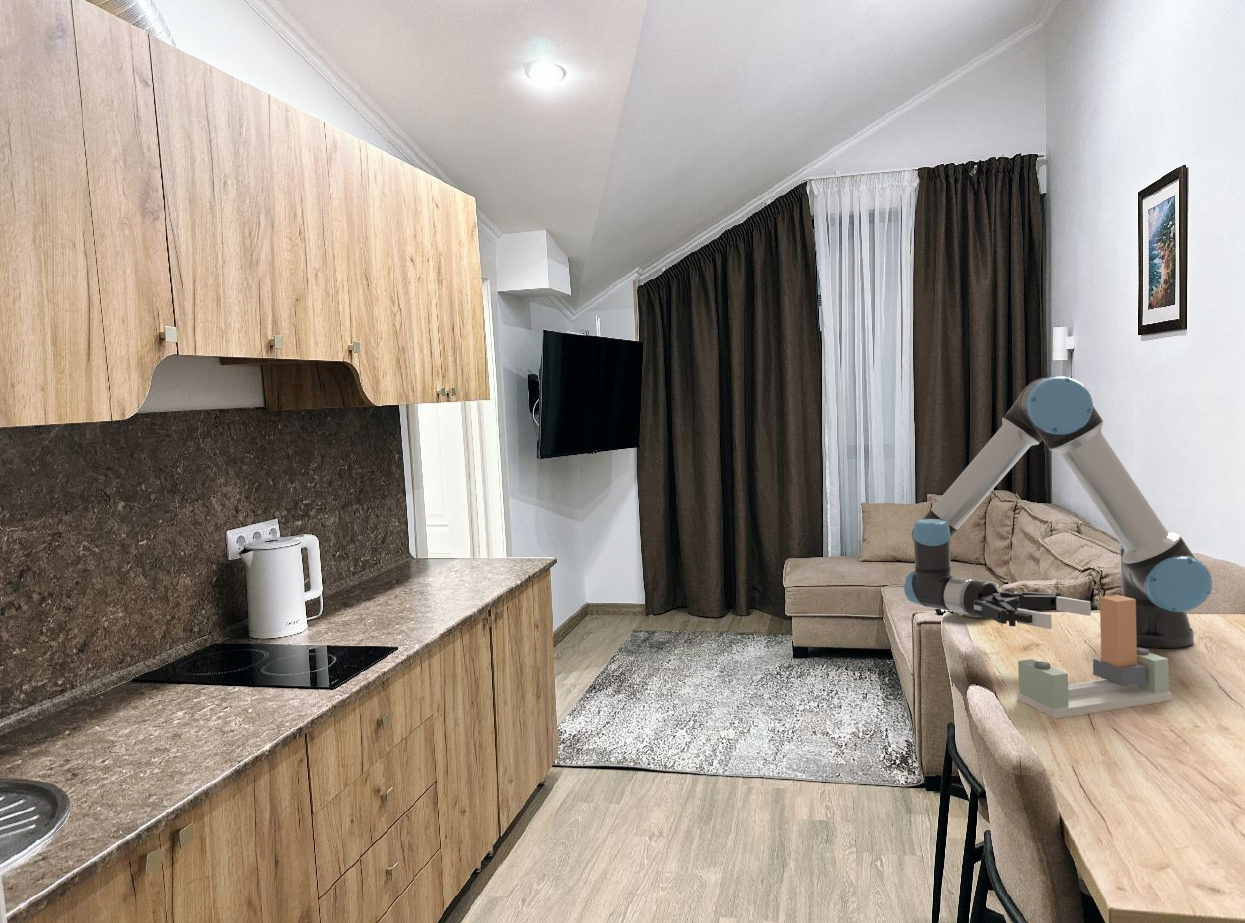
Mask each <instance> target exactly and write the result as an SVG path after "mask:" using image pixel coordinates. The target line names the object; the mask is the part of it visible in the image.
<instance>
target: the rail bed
mask: <svg viewBox="0 0 1245 923" xmlns="http://www.w3.org/2000/svg"><path fill="white" fill-rule="evenodd" d="M1016 694H1017V701H1019V700H1020V701H1019V702H1021V701H1022V702H1021V703H1023V702H1024V703H1023V704H1025V703H1026V704H1025V705H1027V704H1028V705H1027V706H1029V705H1030V706H1029V707H1031V706H1032V708H1033V707H1034V708H1033V709H1035V708H1036V710H1037V709H1039V710H1040V712H1041V711H1042V713H1043V712H1044V714H1046V715H1048V716H1049V717H1052V718H1053V719H1056V720H1057V719H1064V718H1067V717H1074V716H1075V717H1076V716H1080V715H1081V716H1082V715H1087V714H1094V713H1100V712H1101V713H1102V712H1106V711H1113V710H1119V708H1120V709H1125V708H1131V707H1132V706H1133V707H1138V706H1143V705H1144V706H1145V705H1150V704H1158V703H1164V702H1169V701H1172V692H1171V691H1170V690H1169V691H1168V692H1162V693H1152V692H1150V691H1147V690H1144V689H1142V688H1139V684H1134V685H1127V686H1121V685H1119V684H1116V683H1113V682H1111V681H1108V680H1106V679H1103V678H1101V679H1096V680H1089V681H1084V682H1083V681H1082V682H1074V683H1068V702H1069V707H1065V708H1059V709H1052V708H1050V707H1048V706H1046V705H1044V704H1042V703H1040V702H1037V701H1035V700H1033V699H1031V698H1029V697H1027V696H1025V695H1023V694H1021V693H1019V691H1017V693H1016ZM1133 707H1132V708H1133ZM1039 710H1038V711H1039Z"/></svg>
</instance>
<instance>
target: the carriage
mask: <svg viewBox="0 0 1245 923" xmlns="http://www.w3.org/2000/svg"><path fill="white" fill-rule="evenodd" d="M1099 617H1100V620H1099V621H1100V657H1097V658H1092V674H1093V676H1095V677H1098V678H1101V679H1106V680H1108V681H1111V682H1113V683H1116V684H1119V685H1121V686H1127V685H1134V684H1140V683H1146V666H1144V665H1141V664H1138V663H1137V648H1138V645H1137V641H1136V599H1133V598H1129V597H1125V596H1122V594H1121V595H1120V594H1113V595H1106V596H1100V597H1099Z"/></svg>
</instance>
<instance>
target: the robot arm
mask: <svg viewBox="0 0 1245 923" xmlns="http://www.w3.org/2000/svg"><path fill="white" fill-rule="evenodd" d="M1001 422H1002V424H1001V427H999V429H998V430H997V431H996V433H995V434H994V435H993V436H992V437H991V438H990V439H989V440H988V442H987V443H986V444H985V445H984V447H982V449H981V450H980V451H979V452H978V453H977V455H976V456H975V457H974V458H973V459H972V460H971V462H969V464H968V465H967V466H966V467H965V469H964V470H963V471H962V472H961V473H960V474H959V476H958V477H957V478H956V479H955V480H954V482H952V484H951V485H950V486H949V487H948V489H946V491H945V492H944V493H943V495H942V496H941V497H940V498H939V499H938V500H937V502H935V504H934V505H933V506H932V507H931V509H930V510H929V511H928V512H927V513H926V514H925V516H923V518H922V519H919V520H917V521H915V522H914V524H913V528H912V532H911V538H912V541H913V547H914V550H913V552H914V564H915V565H914V570H913V571H911V572H909V573H908V574H907V575H906V577H905V583H904V584H903V591H904V596H905V597H906V599H907V600H909V601H910V602H911V603H913V604H916V605H919V606H920V605H921V606H923V607H926V608H934V609H938V610H944V611H949V612H954V613H955V612H956V613H958V616H964V614H970V615H973V616H978V617H983V619H987V618H989V619H991V620H992V621H994V622H995V621H996V622H997V623H999V624H1002V625H1005V624H1006V625H1007V624H1008V626H1009V627H1016V625H1017V624H1021V625H1025V626H1026V625H1027V626H1032V627H1036V628H1042V629H1045V630H1046V629H1047V630H1051V629H1052V628H1053V627H1052V625H1053V624H1052V622H1053V621H1052V614H1051V613H1047V612H1042V611H1036V610H1029V609H1056V611H1060V612H1065V613H1071V614H1076V615H1081V616H1087V617H1089V616H1092V611H1091V610H1092V608H1091V601H1090V600H1082V599H1078V598H1077V599H1076V598H1071V597H1065V596H1063V594H1062V593H1060V591H1056V592H1055V593H1054V592H1052V593H1051V592H1037V591H1034V592H1033V591H1021V590H1014V589H1011V590H1009V591H1006V590H1005V591H999V592H998V591H997V589H996V587H995V586H994V585H993V584H992V583H990V582H984V581H985V580H983V581H978V580H979V579H978V580H977V579H972V578H968V577H967V578H966V577H959V576H952V572H951V571H952V567H951V539H952V537H953V536H954V535H955V533H956V532H957V531H958V530H959V528H960V527H961V526H962V525H963V524H964V523H965V522H966V520H968V518H969V517H970V516H971V515H972V514H973V513H974V511H975V510H976V509H977V508H978V507H979V506H980V504H982V502H983V501H985V499H986V498H987V497H988V495H989V494H990V493H991V492H992V491H993V490H994V488H996V486H997V485H999V483H1000V482H1001V481H1002V480H1003V479H1004V477H1005V476H1006V475H1007V474H1008V473H1009V472H1010V470H1011V469H1012V468H1013V467H1014V466H1015V465H1016V463H1017V462H1018V461H1019V460H1020V459H1021V457H1023V456H1024V455H1025V454H1026V452H1027V451H1028V450H1029V449H1030V448H1031V447H1032V446H1037V445H1038V446H1039V444H1040V443H1041V442H1042V441H1043V442H1044V444H1045V446H1046V447H1047V449H1048V450H1049V451H1051V452H1052V451H1053V452H1056V453H1059V454H1061V456H1062V457H1063V459H1064V461H1065V462H1066V463H1067V465H1068V466H1069V468H1070V469H1071V471H1072V472H1073V474H1074V475H1075V477H1076V478H1077V481H1079V483H1080V485H1081V486H1082V487H1083V489H1084V490H1085V492H1086V494H1087V495H1088V497H1089V498H1090V499H1091V501H1092V503H1093V504H1094V506H1095V507H1096V509H1097V510H1098V512H1099V513H1100V514H1101V517H1102V518H1103V519H1104V520H1105V522H1106V523H1107V525H1108V527H1109V528H1110V530H1111V531H1112V533H1113V535H1114V536H1115V537H1116V539H1117V540H1118V542H1119V544H1120V549H1119V553H1120V568H1121V569H1120V573H1121V575H1120V577H1121V578H1120V579H1121V596H1125V597H1129V598H1133V599H1136V641H1137V647H1144V648H1154V649H1155V648H1156V649H1175V648H1176V649H1177V648H1186V647H1189V646H1191V645H1193V644H1194V642H1195V640H1194V639H1195V638H1194V637H1195V636H1194V630H1193V628H1192V627H1191V625H1190V620H1189V617H1188V615H1187V612H1188V611H1190V612H1191V611H1192V610H1195V609H1197V608H1199V607H1200V606H1202V605H1203V604H1204V603H1205V602H1206V601H1207V600H1208V598H1209V597H1210V595H1211V592H1212V589H1213V578H1212V575H1211V572H1210V571H1209V569H1208V567H1207V566H1206V564H1203V562H1202V561H1201V560H1199V559H1197V558H1196V557H1195V556H1194V554H1193V553H1192V551H1191V550H1190V548H1189V546H1188V545H1187V544H1186V542H1185V541H1184V539H1183V538H1182V536H1181V535H1180V534H1179V533H1177V532H1173V531H1169V530H1167V528H1166V527H1165V526H1164V524H1163V523H1162V521H1161V520H1160V518H1159V517H1158V515H1157V514H1156V512H1155V510H1153V508H1152V507H1151V504H1150V503H1149V502H1148V501H1147V499H1146V498H1145V496H1144V494H1143V493H1142V491H1141V490H1140V489H1139V487H1138V485H1137V484H1136V482H1135V481H1134V480H1133V478H1132V476H1131V474H1129V472H1128V471H1127V469H1126V467H1125V466H1124V464H1123V463H1122V461H1121V460H1120V458H1119V456H1118V455H1117V454H1116V452H1115V451H1114V449H1113V448H1112V446H1111V445H1110V444H1109V441H1107V439H1106V437H1105V436H1104V435H1103V433H1102V428H1103V425H1104V420H1103V417H1101V416H1100V414H1099V412H1098V411H1097V410H1096V408H1095V406H1094V402H1093V398H1092V396H1091V393H1090V391H1089V390H1088V389H1087V388H1086V386H1085V385H1084V384H1082V383H1081V382H1080V381H1078V380H1076V379H1074V378H1073V377H1069V376H1066V375H1065V376H1063V375H1053V376H1047V377H1040V378H1037V379H1034V380H1033V381H1031V382H1030V383H1029V384H1028V385H1026V386H1025V388H1024V389H1023V390H1022V391H1021V393H1020V395H1018V397H1017V399H1016V400H1015V401H1014V403H1013V404H1012V406H1011V407H1010V409H1008V411H1007V412H1006V413H1005V415H1004V416H1003V417H1002V418H1001ZM963 613H964V614H963ZM1016 623H1017V624H1016Z"/></svg>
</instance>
